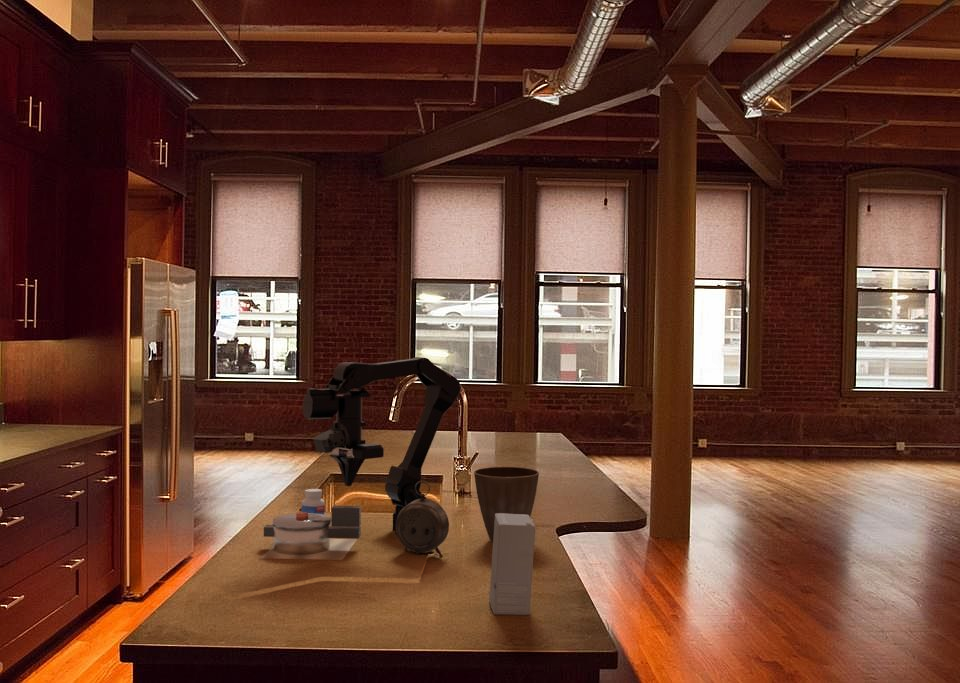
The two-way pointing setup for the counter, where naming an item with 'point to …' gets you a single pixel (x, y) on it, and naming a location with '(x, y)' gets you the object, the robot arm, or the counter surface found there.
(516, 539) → the skincare box
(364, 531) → the counter surface
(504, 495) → the plant pot
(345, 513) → the lid
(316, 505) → the pill bottle
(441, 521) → the alarm clock
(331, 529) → the cooker pot
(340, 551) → the trivet
